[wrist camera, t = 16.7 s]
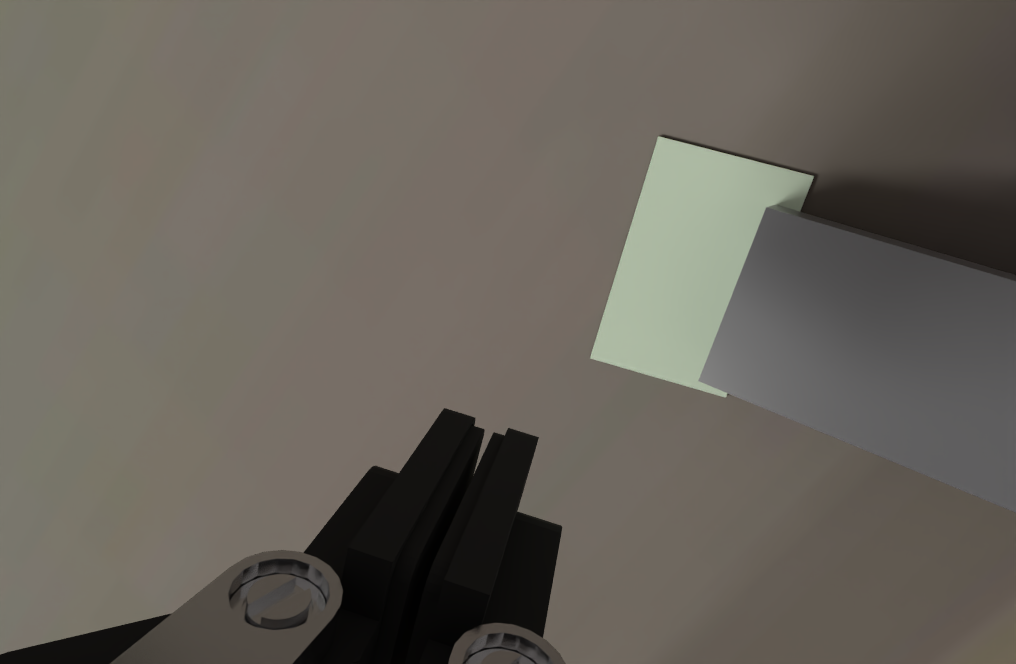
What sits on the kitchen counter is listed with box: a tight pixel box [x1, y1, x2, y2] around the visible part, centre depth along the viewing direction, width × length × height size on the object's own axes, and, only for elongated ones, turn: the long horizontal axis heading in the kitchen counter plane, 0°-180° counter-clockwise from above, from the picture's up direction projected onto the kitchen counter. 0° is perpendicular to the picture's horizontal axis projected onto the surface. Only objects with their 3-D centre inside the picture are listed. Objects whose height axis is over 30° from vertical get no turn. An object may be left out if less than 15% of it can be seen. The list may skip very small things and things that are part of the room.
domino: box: [698, 205, 1016, 513], centre depth 16 cm, size 5×2×10 cm
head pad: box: [590, 136, 814, 398], centre depth 19 cm, size 7×4×1 cm, turn 166°
